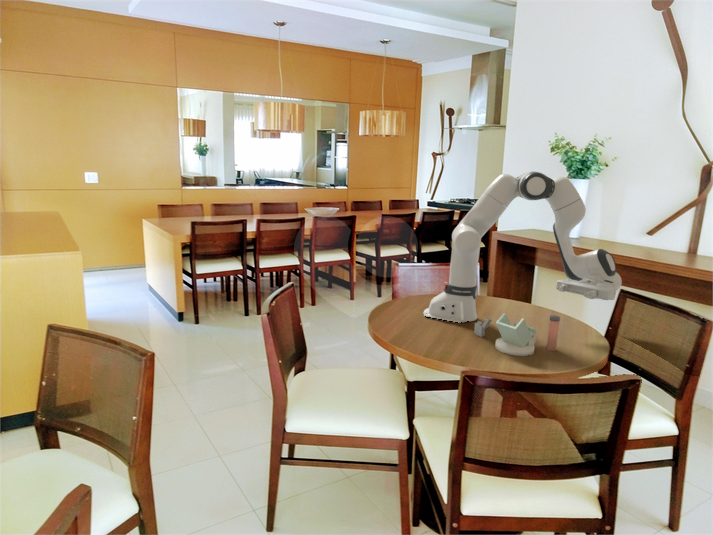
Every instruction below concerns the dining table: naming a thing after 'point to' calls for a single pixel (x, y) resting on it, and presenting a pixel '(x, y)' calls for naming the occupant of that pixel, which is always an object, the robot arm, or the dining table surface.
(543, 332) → the dining table surface
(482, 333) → the lighter
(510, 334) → the green holder stand
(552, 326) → the marker
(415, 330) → the dining table surface
